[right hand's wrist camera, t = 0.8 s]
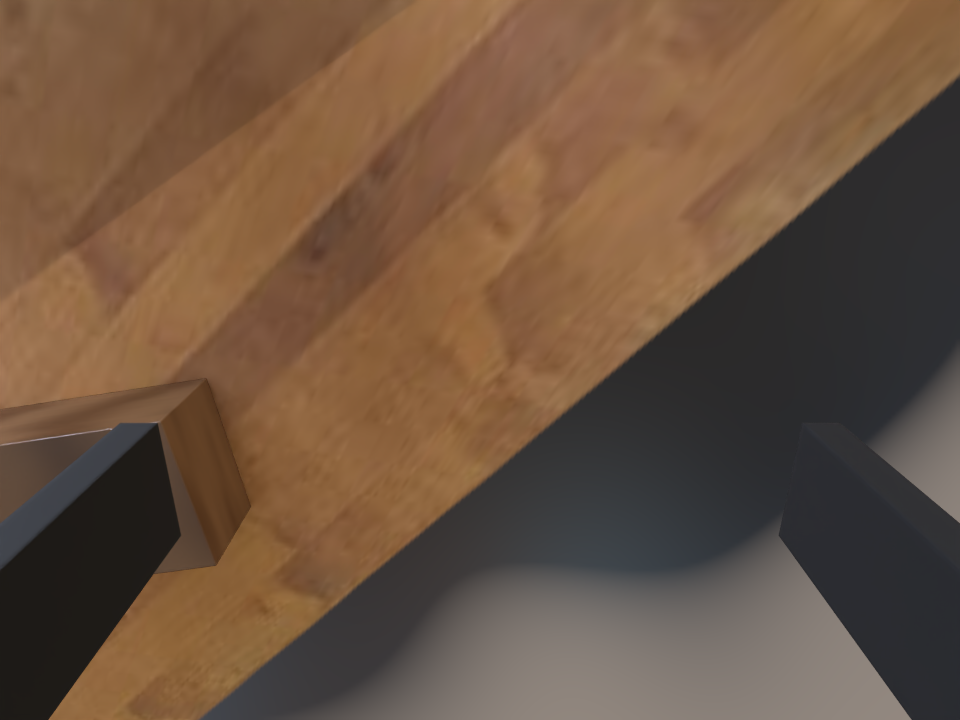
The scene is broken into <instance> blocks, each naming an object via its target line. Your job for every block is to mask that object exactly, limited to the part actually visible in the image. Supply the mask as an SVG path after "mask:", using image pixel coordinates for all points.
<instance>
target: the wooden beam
mask: <svg viewBox="0 0 960 720" xmlns="http://www.w3.org/2000/svg"><path fill="white" fill-rule="evenodd" d="M119 423H158V427H159V431H160V436H161V441H162V446H163V450H164V455H165V460H166V465H167V470H168V474H169V479H170V484H171V489H172V494H173V498H174V503H175V508H176V513H177V518H178V522H179V527H180V532H181V537H180V538H179V539H178V541H177V542H176V543H175V545H174V546H173V548H172V549H171V550H170V552H169V553H168V555H167V556H166V557H165V559H164V560H163V561H162V563H161V564H160V566H159V567H158V568H157V570H156V571H155V573H154V574H157V573H165V572H172V571H180V570H187V569H195V568H202V567H210V566H216V565H217V563H218V562H219V560H220V558H221V556H222V555H223V553H224V551H225V550H226V548H227V546H228V545H229V543H230V541H231V540H232V538H233V536H234V535H235V533H236V531H237V529H238V528H239V526H240V524H241V523H242V521H243V519H244V518H245V516H246V514H247V513H248V511H249V509H250V507H251V506H250V503H249V500H248V497H247V494H246V491H245V489H244V486H243V483H242V480H241V477H240V474H239V471H238V468H237V465H236V463H235V460H234V457H233V454H232V451H231V448H230V445H229V442H228V439H227V437H226V434H225V431H224V428H223V425H222V422H221V419H220V416H219V414H218V411H217V408H216V405H215V402H214V399H213V396H212V393H211V390H210V388H209V385H208V382H207V379H199V380H192V381H185V382H179V383H172V384H166V385H159V386H152V387H146V388H139V389H133V390H126V391H119V392H113V393H106V394H100V395H93V396H86V397H80V398H73V399H66V400H60V401H53V402H47V403H40V404H33V405H27V406H20V407H14V408H7V409H0V523H1V522H2V521H4V520H5V519H6V518H7V517H8V516H10V515H11V514H12V513H13V512H14V511H16V510H17V509H18V508H19V507H20V506H22V505H23V504H24V503H25V502H26V501H28V500H29V499H30V498H31V497H32V496H34V495H35V494H36V493H37V492H38V491H39V490H41V489H42V488H43V487H44V486H45V485H47V484H48V483H49V482H50V481H51V480H53V479H54V478H55V477H56V476H57V475H59V474H60V473H61V472H62V471H63V470H65V469H66V468H67V467H68V466H69V465H71V464H72V463H73V462H74V461H75V460H77V459H78V458H79V457H80V456H81V455H82V454H84V453H85V452H86V451H87V450H88V449H90V448H91V447H92V446H93V445H94V444H96V443H97V442H98V441H99V440H100V439H102V438H103V437H104V436H105V435H106V434H108V433H109V432H110V431H111V430H112V429H114V428H115V427H116V426H117V425H118V424H119Z"/></svg>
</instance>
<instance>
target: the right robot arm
mask: <svg viewBox="0 0 960 720" xmlns="http://www.w3.org/2000/svg"><path fill="white" fill-rule="evenodd" d="M779 536H780V538H781V539H782V541H783V542H784V543H785V545H786V546H787V547H788V549H789V550H790V552H791V553H792V554H793V556H794V557H795V559H796V560H797V561H798V563H799V564H800V566H801V567H802V568H803V570H804V571H805V573H806V574H807V575H808V577H809V578H810V579H811V581H812V582H813V584H814V585H815V586H816V588H817V589H818V590H819V592H820V593H821V595H822V596H823V597H824V599H825V600H826V602H827V603H828V604H829V606H830V607H831V609H832V610H833V611H834V613H835V614H836V615H837V617H838V618H839V620H840V621H841V622H842V624H843V625H844V626H845V628H846V629H847V631H848V632H849V634H850V635H851V636H852V638H853V639H854V640H855V642H856V643H857V645H858V646H859V647H860V649H861V650H862V652H863V653H864V654H865V656H866V657H867V658H868V660H869V661H870V663H871V664H872V665H873V667H874V668H875V670H876V671H877V672H878V674H879V675H880V676H881V678H882V679H883V681H884V682H885V683H886V685H887V686H888V687H889V689H890V690H891V692H892V693H893V694H894V696H895V697H896V699H897V700H898V701H899V703H900V704H901V706H902V707H903V708H904V710H905V711H906V712H907V714H908V715H909V717H910V718H911V719H912V720H960V523H959V522H958V521H956V520H955V519H954V518H953V517H952V516H950V515H949V514H948V513H947V512H946V511H944V510H943V509H942V508H941V507H940V506H938V505H937V504H936V503H935V502H934V501H932V500H931V499H930V498H929V497H928V496H926V495H925V494H924V493H923V492H922V491H920V490H919V489H918V488H917V487H916V486H915V485H913V484H912V483H911V482H910V481H909V480H907V479H906V478H905V477H904V476H903V475H901V474H900V473H899V472H898V471H897V470H895V469H894V468H893V467H892V466H891V465H889V464H888V463H887V462H886V461H885V460H883V459H882V458H881V457H880V456H879V455H878V454H876V453H875V452H874V451H873V450H872V449H870V448H869V447H868V446H867V445H866V444H864V443H863V442H862V441H861V440H860V439H858V438H857V437H856V436H855V435H854V434H852V433H851V432H850V431H849V430H848V429H846V428H845V427H844V426H843V425H842V424H840V423H802V427H801V431H800V436H799V441H798V446H797V450H796V455H795V460H794V465H793V470H792V475H791V479H790V484H789V489H788V494H787V498H786V503H785V508H784V513H783V518H782V522H781V527H780V532H779ZM180 537H181V532H180V527H179V522H178V518H177V513H176V508H175V503H174V498H173V494H172V489H171V484H170V479H169V474H168V470H167V465H166V460H165V455H164V450H163V446H162V441H161V436H160V431H159V427H158V423H119V424H118V425H117V426H116V427H115V428H114V429H112V430H111V431H110V432H109V433H108V434H106V435H105V436H104V437H103V438H102V439H100V440H99V441H98V442H97V443H96V444H94V445H93V446H92V447H91V448H90V449H88V450H87V451H86V452H85V453H84V454H82V455H81V456H80V457H79V458H78V459H77V460H75V461H74V462H73V463H72V464H71V465H69V466H68V467H67V468H66V469H65V470H63V471H62V472H61V473H60V474H59V475H57V476H56V477H55V478H54V479H53V480H51V481H50V482H49V483H48V484H47V485H45V486H44V487H43V488H42V489H41V490H39V491H38V492H37V493H36V494H35V495H34V496H32V497H31V498H30V499H29V500H28V501H26V502H25V503H24V504H23V505H22V506H20V507H19V508H18V509H17V510H16V511H14V512H13V513H12V514H11V515H10V516H8V517H7V518H6V519H5V520H4V521H2V522H1V523H0V720H48V719H49V718H50V717H51V715H52V714H53V712H54V711H55V710H56V708H57V707H58V706H59V704H60V703H61V701H62V700H63V699H64V697H65V696H66V694H67V693H68V692H69V690H70V689H71V688H72V686H73V685H74V683H75V682H76V681H77V679H78V678H79V676H80V675H81V674H82V672H83V671H84V670H85V668H86V667H87V665H88V664H89V663H90V661H91V660H92V658H93V657H94V656H95V654H96V653H97V652H98V650H99V649H100V647H101V646H102V645H103V643H104V642H105V640H106V639H107V638H108V636H109V635H110V634H111V632H112V631H113V629H114V628H115V627H116V625H117V624H118V622H119V621H120V620H121V618H122V617H123V615H124V614H125V613H126V611H127V610H128V609H129V607H130V606H131V604H132V603H133V602H134V600H135V599H136V597H137V596H138V595H139V593H140V592H141V591H142V589H143V588H144V586H145V585H146V584H147V582H148V581H149V579H150V578H151V577H152V575H153V574H154V573H155V571H156V570H157V568H158V567H159V566H160V564H161V563H162V561H163V560H164V559H165V557H166V556H167V555H168V553H169V552H170V550H171V549H172V548H173V546H174V545H175V543H176V542H177V541H178V539H179V538H180Z"/></svg>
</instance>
